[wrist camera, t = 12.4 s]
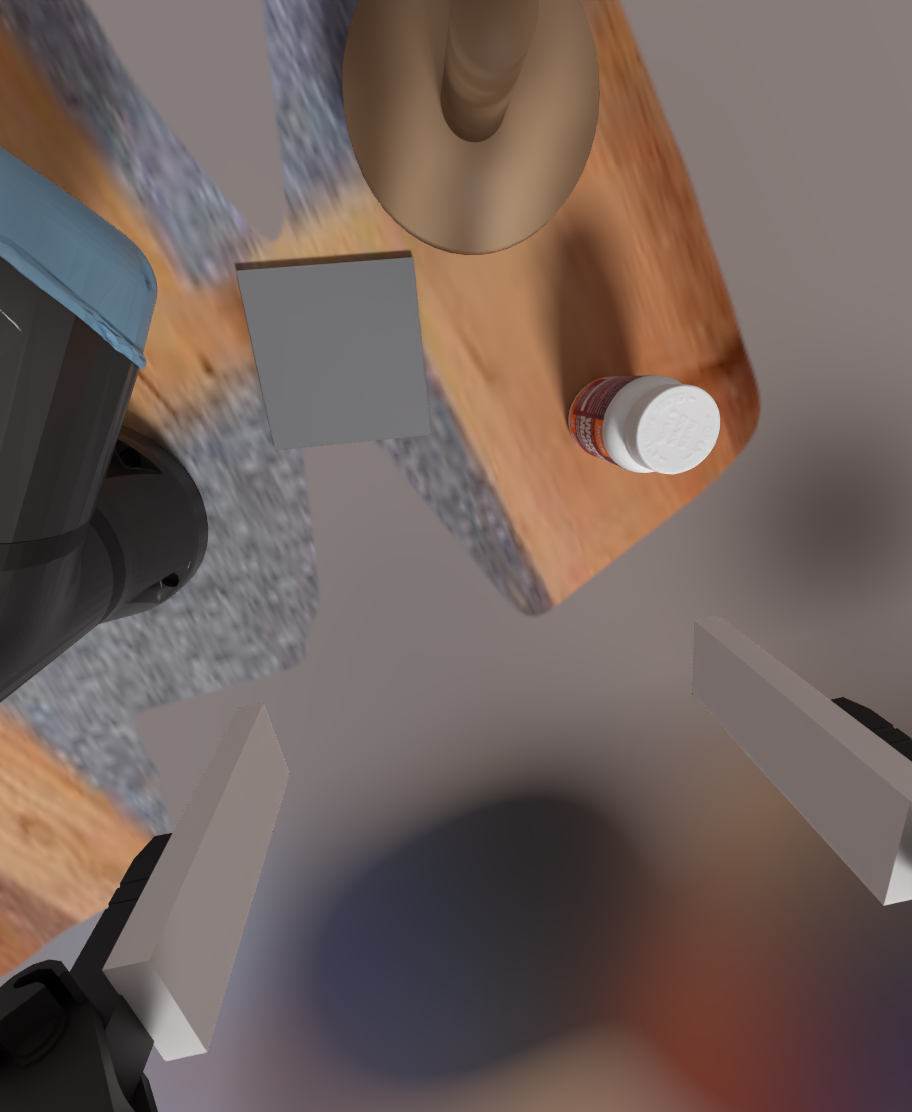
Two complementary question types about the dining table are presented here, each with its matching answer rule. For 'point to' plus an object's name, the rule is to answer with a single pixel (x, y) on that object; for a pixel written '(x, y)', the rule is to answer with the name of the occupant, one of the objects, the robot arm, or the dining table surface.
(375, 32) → the lid
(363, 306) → the mat
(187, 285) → the dining table surface
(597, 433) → the pill bottle
